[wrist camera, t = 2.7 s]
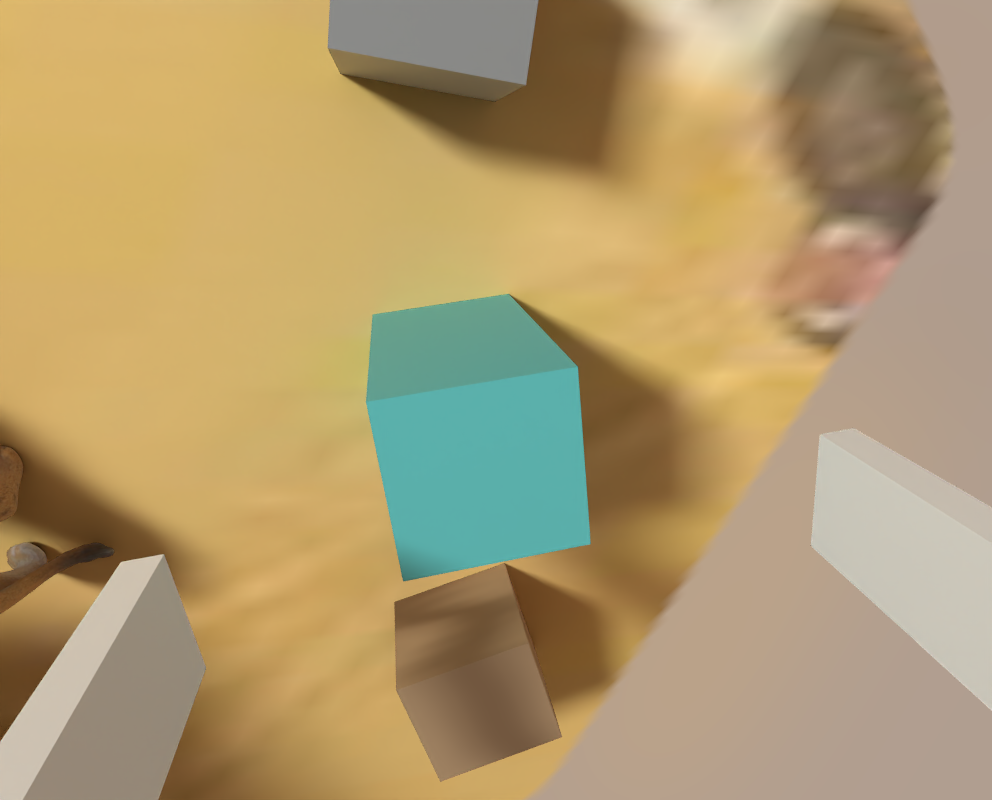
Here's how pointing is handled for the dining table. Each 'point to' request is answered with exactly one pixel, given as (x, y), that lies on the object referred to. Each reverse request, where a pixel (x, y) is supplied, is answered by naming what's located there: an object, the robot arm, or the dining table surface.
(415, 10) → the grey block
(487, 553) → the teal block
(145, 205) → the dining table surface
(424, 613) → the walnut block
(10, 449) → the lion figurine
